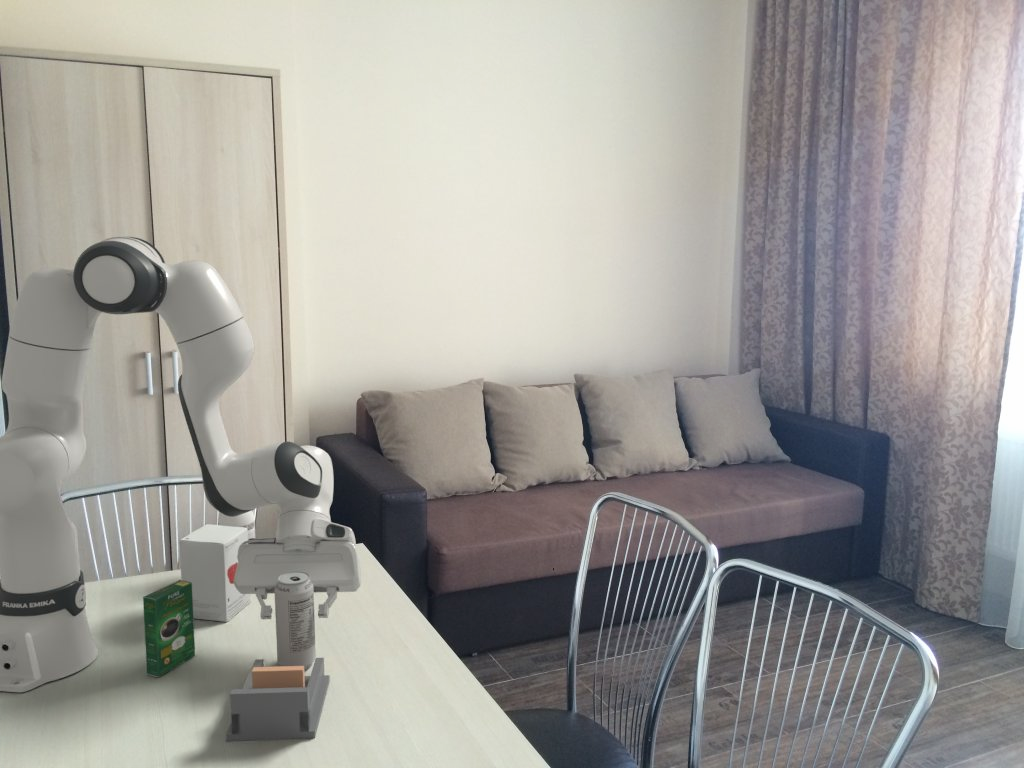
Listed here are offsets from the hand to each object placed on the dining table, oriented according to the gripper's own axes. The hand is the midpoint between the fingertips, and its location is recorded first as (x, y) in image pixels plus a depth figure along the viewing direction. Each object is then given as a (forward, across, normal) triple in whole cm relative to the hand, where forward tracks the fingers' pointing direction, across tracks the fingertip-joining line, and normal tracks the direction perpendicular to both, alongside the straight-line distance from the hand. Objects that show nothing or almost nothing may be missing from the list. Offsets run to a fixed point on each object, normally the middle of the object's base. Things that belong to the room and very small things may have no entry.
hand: (294, 617), depth 134 cm
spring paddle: (+14, 0, -4) cm, 15 cm away
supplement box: (-9, -18, +21) cm, 29 cm away
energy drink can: (+6, 0, +6) cm, 9 cm away
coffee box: (+5, -20, +7) cm, 22 cm away
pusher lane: (+15, 0, -3) cm, 15 cm away
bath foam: (-20, -18, +33) cm, 43 cm away
